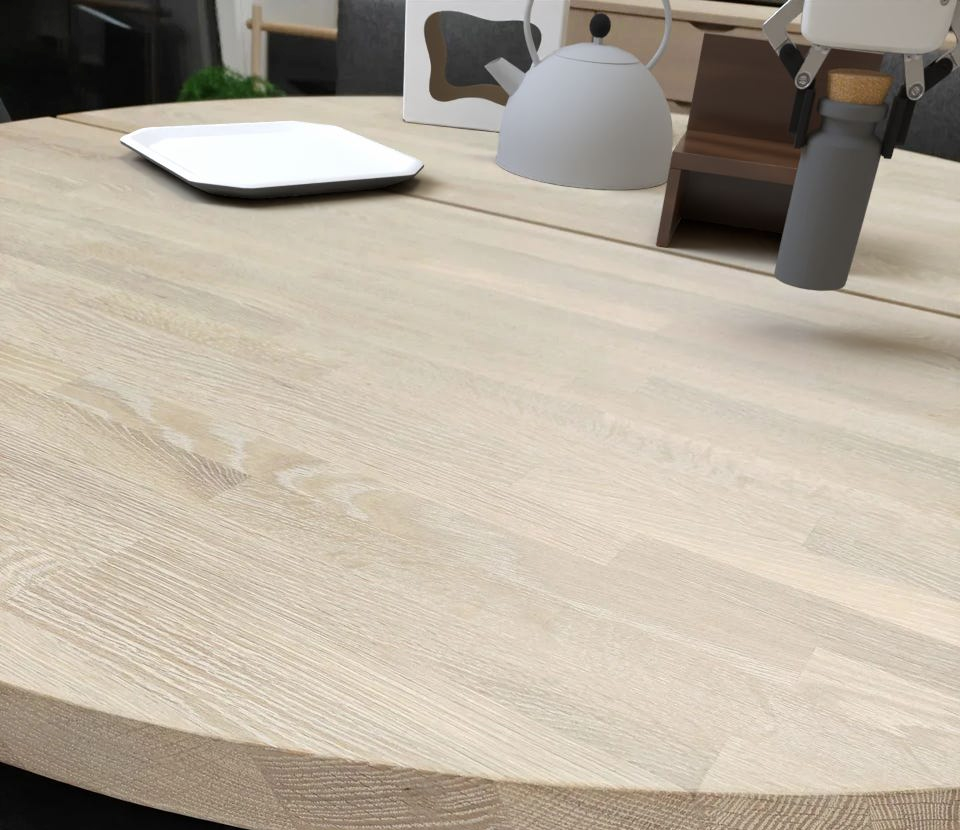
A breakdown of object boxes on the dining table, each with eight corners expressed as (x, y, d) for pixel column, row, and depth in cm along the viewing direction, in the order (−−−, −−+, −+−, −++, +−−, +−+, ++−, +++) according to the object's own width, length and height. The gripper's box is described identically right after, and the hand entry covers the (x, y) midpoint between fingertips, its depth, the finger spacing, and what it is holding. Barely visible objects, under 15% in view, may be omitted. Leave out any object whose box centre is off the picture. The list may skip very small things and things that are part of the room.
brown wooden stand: (671, 214, 114) (705, 31, 103) (831, 238, 111) (883, 52, 100) (655, 245, 103) (691, 45, 92) (832, 273, 100) (890, 69, 89)
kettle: (481, 180, 120) (497, -46, 106) (475, 141, 138) (488, -57, 124) (684, 195, 122) (725, -25, 108) (652, 154, 140) (684, -39, 126)
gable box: (400, 121, 145) (406, -120, 128) (417, 106, 155) (424, -118, 138) (552, 138, 144) (578, -103, 127) (558, 122, 154) (583, -103, 137)
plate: (209, 212, 100) (207, 189, 99) (107, 149, 118) (104, 128, 117) (445, 190, 115) (446, 169, 114) (322, 137, 133) (322, 118, 131)
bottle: (850, 276, 83) (906, 73, 74) (839, 296, 79) (897, 82, 70) (781, 264, 85) (827, 64, 76) (766, 283, 81) (814, 73, 72)
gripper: (1046, -141, 66) (954, 154, 77) (784, -155, 70) (731, 129, 81) (1067, -145, 61) (964, 174, 72) (780, -160, 64) (724, 147, 75)
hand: (842, 148), depth 76 cm, fingers closed on bottle, 5 cm apart
